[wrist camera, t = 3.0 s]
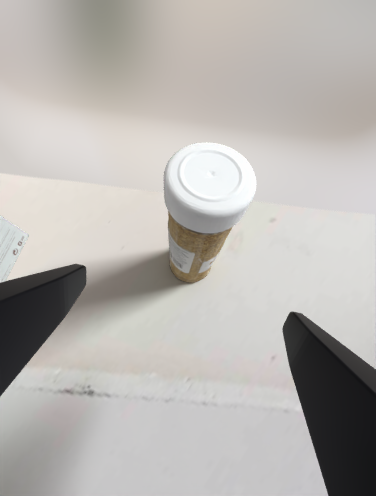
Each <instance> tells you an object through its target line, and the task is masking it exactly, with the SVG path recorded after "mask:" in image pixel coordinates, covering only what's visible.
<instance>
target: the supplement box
mask: <svg viewBox="0 0 376 496" xmlns="http://www.w3.org/2000/svg"><path fill="white" fill-rule="evenodd" d="M28 236H29V234H28V233H26V232H25V231H23V230H22V229H20V228H19V227H17V226H16V225H14V224H13V223H11V222H10V221H8V220H7V219H5V218H4V217H2V216H1V215H0V283H1V282H5V281H6V279H7V277H8V275H9V273H10V271H11V269H12V267H13V265H14V264H15V262H16V260H17V258H18V256H19V254H20V252H21V250H22V248H23V246H24V244H25V242H26V241H27V238H28Z"/></svg>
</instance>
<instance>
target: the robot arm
mask: <svg viewBox="0 0 376 496" xmlns="http://www.w3.org/2000/svg"><path fill="white" fill-rule="evenodd" d="M85 285H86V267H85V266H83V265H79V264H73V265H69V266H65V267H61V268H57V269H53V270H49V271H45V272H41V273H37V274H33V275H29V276H25V277H21V278H17V279H13V280H9V281H5V282H1V283H0V396H1V395H2V394H3V392H4V391H5V390H6V389H7V387H8V386H9V385H10V384H11V383H12V381H13V380H14V379H15V378H16V376H17V375H18V374H19V373H20V372H21V370H22V369H23V368H24V367H25V365H26V364H27V363H28V362H29V361H30V359H31V358H32V357H33V356H34V354H35V353H36V352H37V351H38V350H39V348H40V347H41V346H42V345H43V343H44V342H45V341H46V340H47V339H48V337H49V336H50V335H51V334H52V332H53V331H54V330H55V329H56V327H57V326H58V325H59V324H60V323H61V321H62V320H63V319H64V318H65V316H66V315H67V313H68V312H69V311H70V309H71V307H72V306H73V304H74V303H75V301H76V300H77V298H78V297H79V295H80V294H81V292H82V291H83V289H84V288H85ZM283 336H284V341H285V346H286V351H287V356H288V361H289V366H290V369H291V373H292V376H293V380H294V383H295V386H296V390H297V393H298V396H299V400H300V403H301V406H302V409H303V413H304V416H305V419H306V423H307V426H308V429H309V433H310V436H311V439H312V443H313V446H314V449H315V453H316V456H317V459H318V462H319V466H320V469H321V472H322V476H323V479H324V482H325V486H326V489H327V492H328V496H376V369H374V368H373V367H372V366H370V365H369V364H368V363H366V362H365V361H364V360H362V359H361V358H360V357H358V356H357V355H356V354H355V353H353V352H352V351H351V350H349V349H348V348H347V347H345V346H344V345H343V344H341V343H340V342H339V341H337V340H336V339H335V338H333V337H332V336H331V335H329V334H328V333H327V332H325V331H324V330H323V329H321V328H320V327H319V326H317V325H316V324H315V323H314V322H312V321H311V320H310V319H308V318H307V317H306V316H304V315H303V314H301V313H297V312H290V313H289V315H288V317H287V319H286V321H285V323H284V325H283Z"/></svg>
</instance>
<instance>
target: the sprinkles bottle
mask: <svg viewBox="0 0 376 496" xmlns="http://www.w3.org/2000/svg"><path fill="white" fill-rule="evenodd" d="M255 191H256V177H255V174H254V171H253V169H252V167H251V165H250V164H249V162H248V161H247V160H246V159H245V158H244V157H243V156H242V155H241V154H240V153H238V152H237V151H235V150H233V149H231V148H229V147H227V146H224V145H220V144H216V143H196V144H192V145H189V146H186V147H184V148H182V149H180V150H179V151H178V152H177V153H175V154H174V155H173V156H172V157H171V158H170V160H169V161H168V163H167V165H166V168H165V172H164V198H165V204H166V207H167V209H168V213H169V214H168V215H169V220H168V236H169V252H170V260H169V263H170V268H171V270H172V272H173V274H174V275H175V276H176V277H177V278H179V279H180V280H182V281H186V282H191V283H192V282H197V281H199V280H201V279H203V278H204V277H206V276H207V274H208V273H209V271H210V269H211V266H212V264H213V263H214V261H215V259H216V257H217V256H218V254H219V252H220V250H221V248H222V247H223V245H224V243H225V240H226V238H227V236H228V234H229V232H230V230H231V229H232V227H233V226H234V225H236V224H237V223H238V222H239V221H240V220H241V218H242V217H243V215H244V214H245V212H246V210H247V208H248V207H249V205H250V203H251V201H252V199H253V197H254V194H255Z"/></svg>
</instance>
